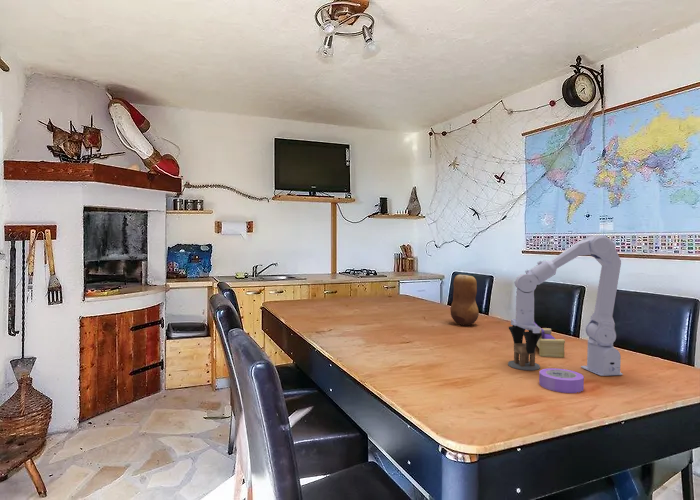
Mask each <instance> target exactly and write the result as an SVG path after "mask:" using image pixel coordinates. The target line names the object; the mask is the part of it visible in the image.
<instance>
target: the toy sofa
mask: <svg viewBox="0 0 700 500" xmlns="http://www.w3.org/2000/svg"><path fill="white" fill-rule="evenodd" d="M534 324H535V325H537V326H538V327H540V326H539V325H538V324H537V323H536V321H534ZM540 333H542V336H541V337H540V338H539V340H538V342H537V345H536V347H538V349H539V351H538V353H539V357H543V358H547V357H548V358H549V357H550V358H562V359H563V358H565V343H566V340H565V339H563V338H560V339H559V338H558V339H556V338H555V337H554V336H553V335H552V328H549V327H548V328H547V327H542V328H541V327H540Z"/></svg>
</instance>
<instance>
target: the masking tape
mask: <svg viewBox="0 0 700 500" xmlns="http://www.w3.org/2000/svg"><path fill="white" fill-rule="evenodd" d="M538 372H539V374H538V375H539V376H538V377H539V378H538V380H539V382H538V383H539V385H540V386H541V387H542V388H544V389H546V390H550V391H551V392H552V391H553V392H558V393H564V394H565V393H566V394H578V393H582V392H583V391H584V384H585V383H584V379H585V377H584V375H583V374H582V373H580V372H577V371H575V370H570V369H566V368H565V369H564V368H555V367H553V368H552V367H548V368H543V369H539V371H538ZM581 391H582V392H581ZM577 392H578V393H577Z"/></svg>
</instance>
